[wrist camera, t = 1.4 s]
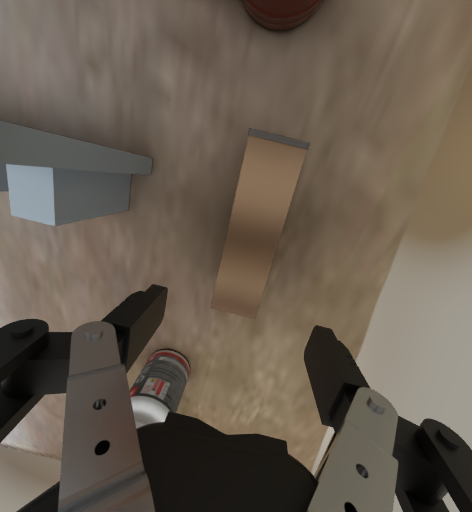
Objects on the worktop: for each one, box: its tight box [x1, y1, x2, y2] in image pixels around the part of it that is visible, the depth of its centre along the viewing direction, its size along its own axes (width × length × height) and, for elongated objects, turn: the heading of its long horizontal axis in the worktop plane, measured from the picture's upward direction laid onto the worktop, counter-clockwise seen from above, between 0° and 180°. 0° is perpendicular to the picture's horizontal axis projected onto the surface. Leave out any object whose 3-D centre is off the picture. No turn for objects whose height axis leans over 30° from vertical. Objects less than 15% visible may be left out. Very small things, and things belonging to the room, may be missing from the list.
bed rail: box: [210, 128, 310, 319], centre depth 20 cm, size 14×4×6 cm, turn 167°
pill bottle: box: [130, 350, 190, 429], centre depth 25 cm, size 6×6×10 cm
